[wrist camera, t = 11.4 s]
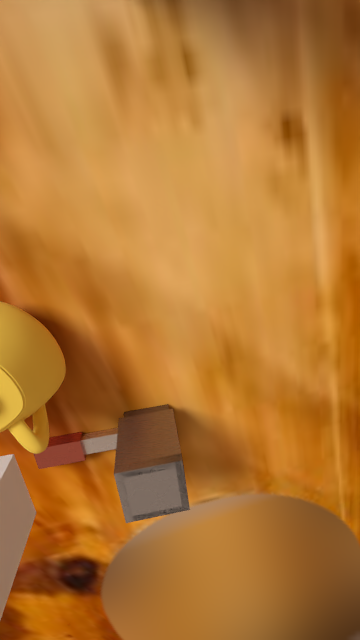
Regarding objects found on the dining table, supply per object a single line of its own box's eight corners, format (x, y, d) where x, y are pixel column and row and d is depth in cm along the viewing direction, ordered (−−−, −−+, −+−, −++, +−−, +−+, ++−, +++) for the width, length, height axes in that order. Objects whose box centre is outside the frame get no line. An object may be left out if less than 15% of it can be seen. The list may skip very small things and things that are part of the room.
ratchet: (32, 428, 40) (13, 466, 34) (168, 404, 42) (173, 437, 36) (46, 469, 43) (31, 512, 36) (174, 445, 44) (180, 482, 38)
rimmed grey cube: (118, 418, 40) (114, 473, 31) (172, 408, 40) (182, 460, 32) (128, 460, 42) (126, 522, 34) (179, 451, 43) (189, 509, 34)
